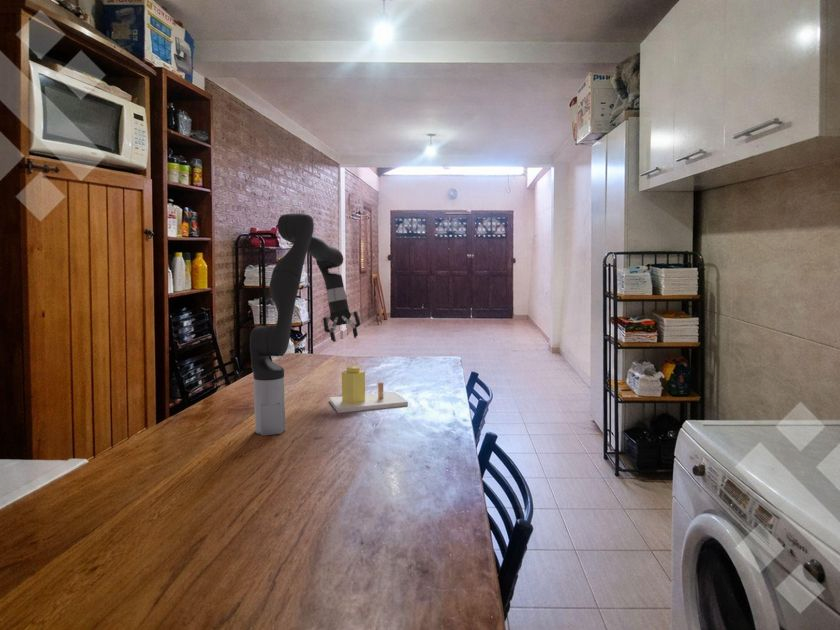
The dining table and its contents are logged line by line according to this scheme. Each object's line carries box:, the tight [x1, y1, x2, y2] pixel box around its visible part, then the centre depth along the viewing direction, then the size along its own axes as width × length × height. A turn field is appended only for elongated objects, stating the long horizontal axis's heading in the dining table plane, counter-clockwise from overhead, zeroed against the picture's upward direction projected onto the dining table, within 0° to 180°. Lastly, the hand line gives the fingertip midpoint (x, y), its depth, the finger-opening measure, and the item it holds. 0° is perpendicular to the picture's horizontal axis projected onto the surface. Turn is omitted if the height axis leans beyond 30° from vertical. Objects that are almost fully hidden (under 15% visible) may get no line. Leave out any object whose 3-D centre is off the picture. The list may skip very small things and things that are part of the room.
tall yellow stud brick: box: [341, 365, 366, 404], centre depth 194 cm, size 6×6×13 cm
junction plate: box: [328, 381, 409, 414], centre depth 196 cm, size 16×26×8 cm, turn 111°
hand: (345, 339), depth 210 cm, fingers open, 8 cm apart
